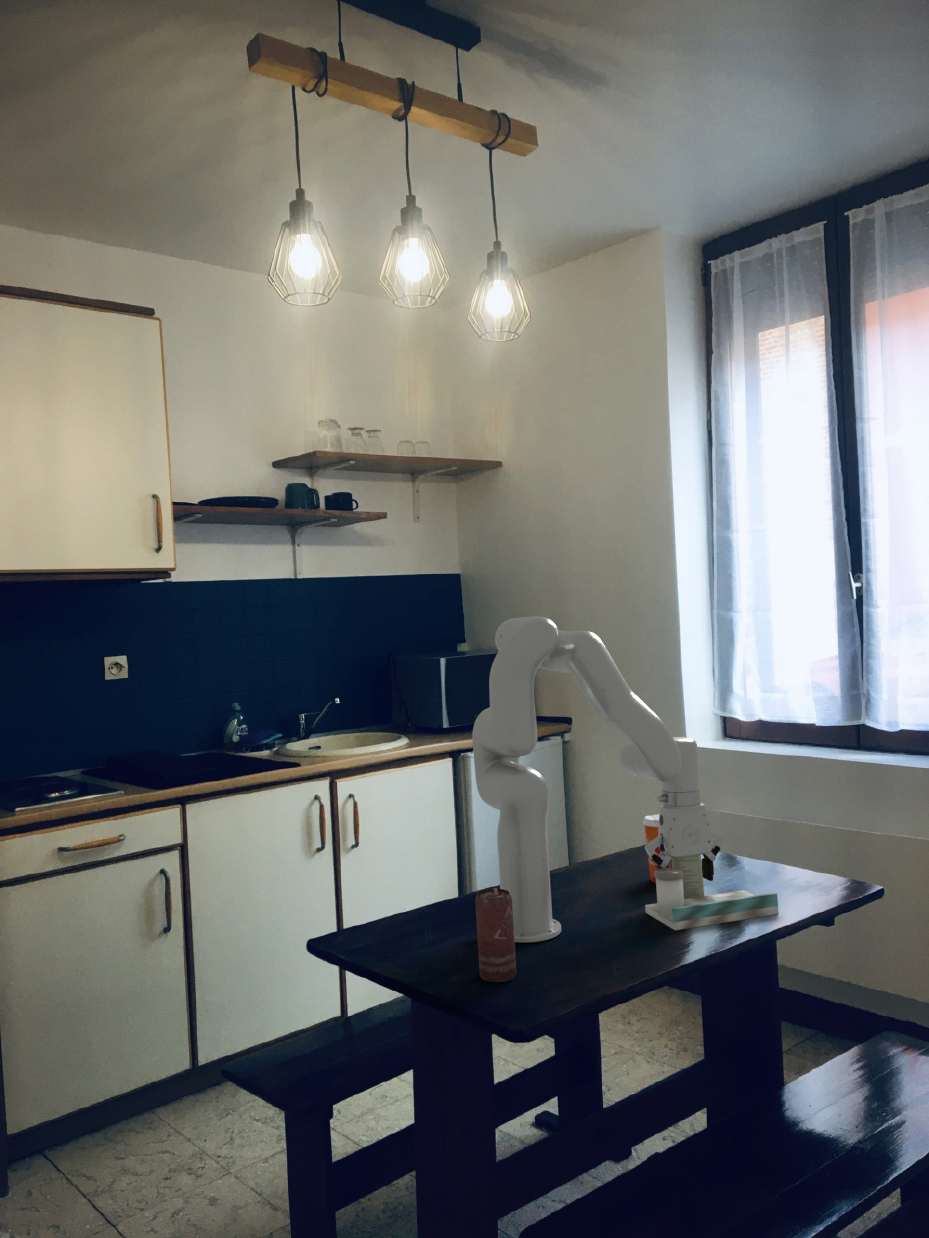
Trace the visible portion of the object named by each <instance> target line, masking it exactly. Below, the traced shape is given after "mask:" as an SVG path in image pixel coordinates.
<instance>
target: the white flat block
mask: <svg viewBox="0 0 929 1238" xmlns="http://www.w3.org/2000/svg"><path fill="white" fill-rule="evenodd" d="M778 899H779V898H778V892H775V891H773V892H767V893H764V894H763V893H761V894H752V893H750V892H748V891H746V890H736V891H730V892H724V893H717V894H710V895H704V896H702V897H695V898H689V899H684V906H682V907H676V908H672V917H663V916H660V915H659V914H658V904H657V902H656V903H651V904H645V905H644V908H645V914H647V915H649V916H650V917H652V918H654V919H655V920H657V921H658V922H661V923H663V924H664V925H665V926H666V927H669V928H670V929H672V930H674V931H679V930H685V929H686V930H687V929H693V928H699V927H705V926H710V925H717V924H722V923H723V924H724V923H729V922H736V921H741V920H742V921H743V920H748V919H755V918H760V917H761V918H762V917H766V916H767V917H769V916H773V915H779V900H778Z"/></svg>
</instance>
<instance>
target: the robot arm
mask: <svg viewBox="0 0 929 1238" xmlns="http://www.w3.org/2000/svg"><path fill="white" fill-rule="evenodd" d="M601 639H602V638H600V637H599V636H598V635H597V634H596V633H594V632H591V631H590V630H589V631H587V630H572V631H571V630H570V631H569V630H568V631H567V630H565V631H564V630H560V629H558V626H557V625H556V624H555V622H553V621H552V620H551V619H550V618H548V617H545V616H535V615H534V616H524V617H513V618H509V619H507V620H505V621H503V622H502V623H501V624H500V625H499V626H498V628H497V629H496V631H495V636H494V643H495V647H496V649H497V651H498V652H497V653H496V655H495V658H494V660H493V662H492V665H491V668H490V671H489V681H488V683H489V685H488V686H489V707H488V708H485V709H483V710H482V711H481V712H480V713H479V714H478V716H477V717H476V719H475V721H474V723H473V724H474V725H473V728H472V749H473V750H472V752H473V761H474V776H475V783H476V787H477V792H478V794H479V797H480V798H481V800H482V801H483V802H484V803H485V804H487V805H488V806H489V807H491V808H493V809H496V810H498V811H499V819H498V824H497V831H496V832H497V833H496V834H497V835H496V836H497V838H496V839H497V841H496V843H497V856H498V868H499V870H498V872H499V873H498V875H499V889H504V890H507V891H509V893H510V895H511V897H512V908H513V924H514V941H515V943H522V944H523V943H538V942H543V941H547V940H550V939H551V940H552V939H553V938H555V937H557V936H558V935H560V933H561V932H562V924H561V923H560V921H558V920H556V919H554V918H553V910H552V908H553V907H552V893H551V891H552V889H551V876H550V859H549V858H550V857H549V846H548V845H549V844H548V842H549V841H548V813H549V812H548V811H549V804H550V803H549V802H550V790H549V786H548V783H547V781H546V779H545V777H544V776H543V775H542V774H541V773H540V772H539V771H538V770H537V769H534V768H533V767H530V766H528V765H525V764H520V761H519V759H522V758H525V757H527V756H529V755H531V754H533V752H534V750H536V747H537V744H538V726H537V713H536V702H535V679H536V675H537V672H538V670H539V669H542V670H548V671H553V672H558V673H565V674H567V673H568V674H571V676H572V678H573V679H574V681H575V683H576V684H577V686H578V687H579V689H580V691H581V692H582V694H583V695H584V697H585V698H586V701H587V703H588V704H589V706H590V708H591V710H592V711H593V712H594V713H595V714H596V716H598V717H599V718H601V720H603V721H604V722H606V723H608V724H610V725H612V726H613V727H615V728H616V729H617V730H619V731H621V732H622V733H623V734H625V736H627V737H628V738H629V740H630V741H629V742H628V743H626V744H625V745H624V746H623V748H622V749H621V751H620V753H619V754H620V756H619V761H620V764H621V766H622V769H624V770H625V771H626V772H627V773H628V774H630V775H632V776H634V777H638V778H641V779H648V780H651V781H652V780H653V781H656V782H661V794H659V795H657V796H656V800H657V802H658V803H662V805H660V806H659V807H660V809H659V813H658V814H659V824H658V837H656V838H655V839H654V840H652V841H651V842H650V843H648V844H647V843H646V844H645V845H644V849H645V850H644V851H646V854H647V856H648V855H649V857H650V859H651V860H653V861H654V862H655V863H656V864H657V865H658V869H660V868H669V867H667V865H668V863H669V861H670V860H671V858H680V857H688V856H694V855H697V854H701V855H702V857H701V864H702V874H703V879H705V880H706V881H709V882H713V881H714V875H715V871H714V870H715V869H714V867H715V865H714V861H715V860H716V857H717V856H718V854H719V853H720V851H721V847H722V844H723V842H724V837H723V836H722V835H719V834H717V833H714V832H712V831H711V826H710V825H711V824H710V820H709V815H708V811H707V808H706V805H705V803H702V802H701V786H700V771H699V757H698V744H697V741H696V740H695V739H693V737H692V738H691V737H687V736H675V737H674V736H673V735H672V734H671V732H670V730H669V729H668V727H667V725H665V724H664V722H663V721H662V720H661V718H660V717H659V716H658V715H657V714H656V712H654V711H653V710H652V709H651V708H650V707H649V706H648V705H647V704H646V703H645V702H644V701H643V700H642V699H641V698H640V697H639V696H638V695H636V694H635V693H634V692H633V690H632V689H631V688H630V686H629V685H628V683H627V681H626V680H625V678H624V677H623V675H622V673H621V670H620V669H619V668H618V666H617V665H616V662H615V661H614V659H613V657H612V656H611V654H610V652H609V651H608V649H607V647H606V646H605V643H604V642H603V641H602V640H601ZM658 846H659V850H660V852H661V853H660V854H659V856H658V855H656V852H655V848H657V847H658Z"/></svg>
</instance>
